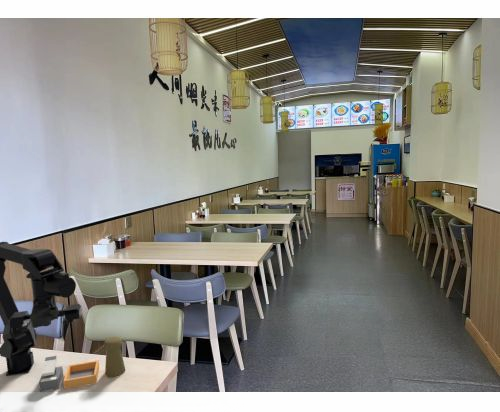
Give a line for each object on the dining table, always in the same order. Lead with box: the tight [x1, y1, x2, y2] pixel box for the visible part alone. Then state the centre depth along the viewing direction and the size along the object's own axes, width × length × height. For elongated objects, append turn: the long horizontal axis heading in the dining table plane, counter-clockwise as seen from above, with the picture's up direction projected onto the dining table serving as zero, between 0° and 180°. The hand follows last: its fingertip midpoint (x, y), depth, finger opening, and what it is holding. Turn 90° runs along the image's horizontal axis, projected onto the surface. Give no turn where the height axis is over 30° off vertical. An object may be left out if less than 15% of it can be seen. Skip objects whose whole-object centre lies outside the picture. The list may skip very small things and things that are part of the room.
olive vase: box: [103, 336, 126, 379], centre depth 119 cm, size 6×6×11 cm
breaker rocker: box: [41, 355, 58, 376], centre depth 114 cm, size 3×6×1 cm, turn 16°
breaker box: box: [38, 366, 64, 393], centre depth 114 cm, size 5×7×5 cm
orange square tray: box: [63, 360, 100, 390], centre depth 117 cm, size 9×9×2 cm
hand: (49, 342), depth 115 cm, fingers open, 8 cm apart
